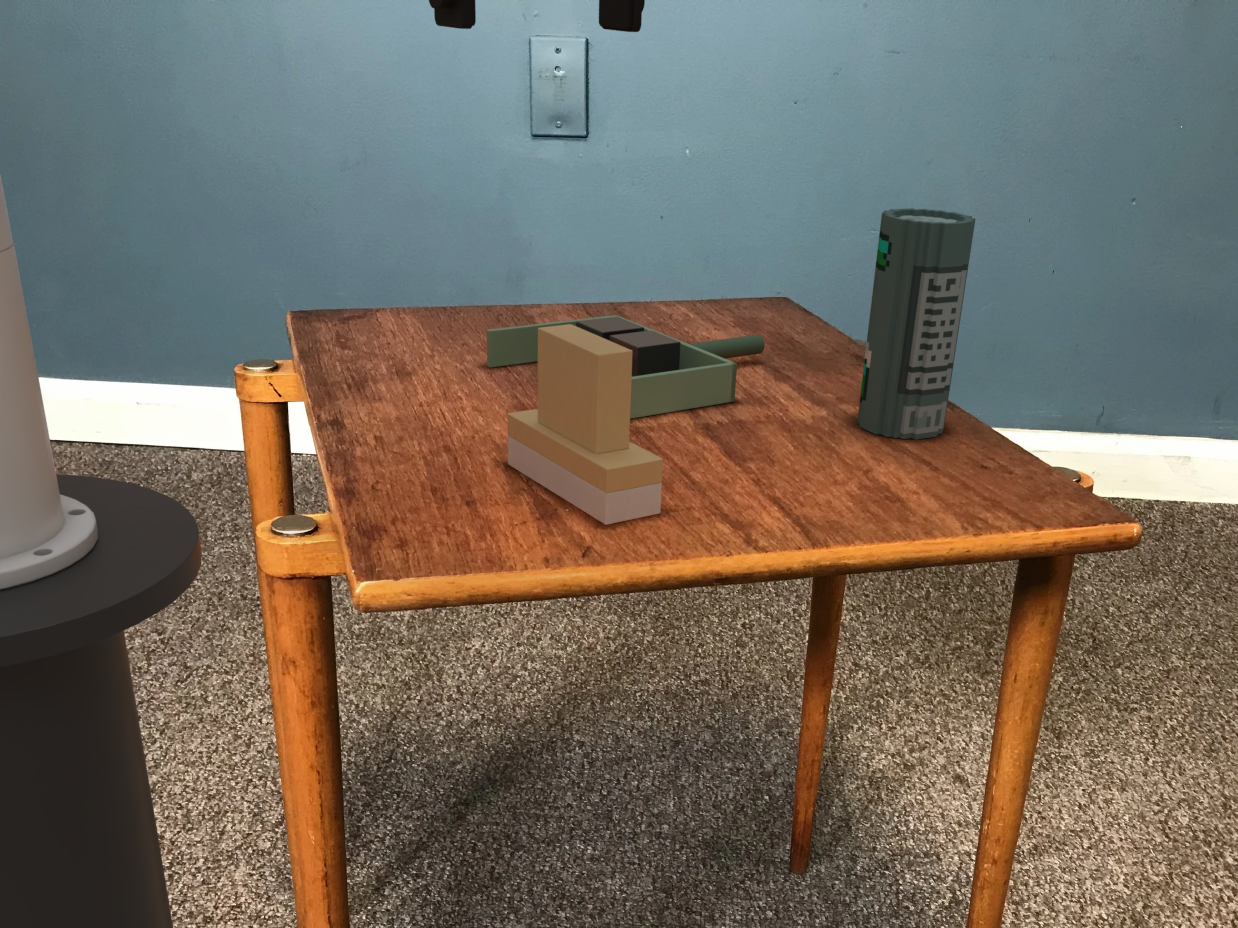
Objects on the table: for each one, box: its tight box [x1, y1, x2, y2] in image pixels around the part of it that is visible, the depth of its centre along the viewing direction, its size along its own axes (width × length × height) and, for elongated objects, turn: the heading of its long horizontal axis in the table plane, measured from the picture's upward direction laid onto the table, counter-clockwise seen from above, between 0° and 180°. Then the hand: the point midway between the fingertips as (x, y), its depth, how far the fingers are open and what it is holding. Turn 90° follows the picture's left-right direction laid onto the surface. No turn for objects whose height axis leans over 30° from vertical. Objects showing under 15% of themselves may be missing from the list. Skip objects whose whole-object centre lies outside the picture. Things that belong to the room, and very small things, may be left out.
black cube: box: [609, 329, 681, 377], centre depth 101 cm, size 4×4×4 cm
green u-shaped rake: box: [486, 314, 766, 420], centre depth 105 cm, size 22×17×3 cm
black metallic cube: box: [576, 317, 644, 340], centre depth 105 cm, size 4×4×4 cm
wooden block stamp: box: [507, 324, 664, 526], centre depth 80 cm, size 4×12×10 cm, turn 35°
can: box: [856, 207, 976, 440], centre depth 93 cm, size 6×6×15 cm
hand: (540, 28), depth 67 cm, fingers open, 9 cm apart
